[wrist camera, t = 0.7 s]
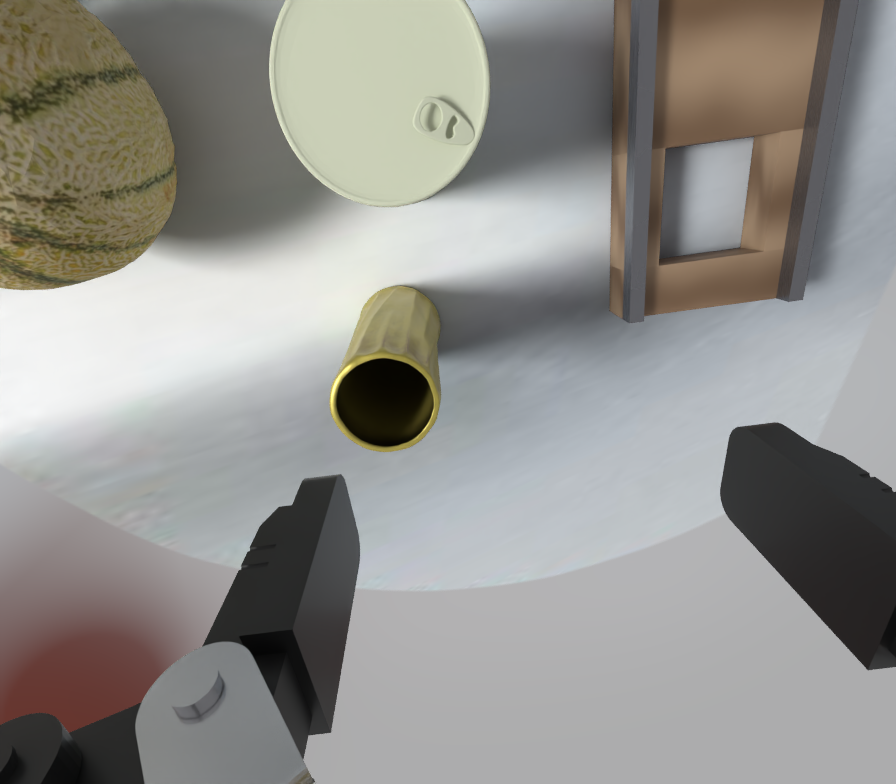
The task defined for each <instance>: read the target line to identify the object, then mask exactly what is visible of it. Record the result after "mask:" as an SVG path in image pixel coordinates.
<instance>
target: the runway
mask: <svg viewBox="0 0 896 784" xmlns="http://www.w3.org/2000/svg"><path fill="white" fill-rule="evenodd" d="M858 1H859V0H614V57H613V121H612V184H611V247H610V310H609V311H611V312H612V313H614V314H615V315H617V316H619V317H620V318H622V319H623V320H625V321H627V322H628V323H635V322H642V321H644V316H648V315H655V314H663V313H670V312H677V311H685V310H692V309H699V308H707V307H714V306H722V305H729V304H736V303H744V302H751V301H759V300H766V299H773V298H777V299H781V300H784V301H788V302H790V301H797V300H803V296H804V291H805V286H806V280H807V275H808V270H809V264H810V259H811V253H812V248H813V243H814V237H815V232H816V227H817V221H818V216H819V210H820V205H821V200H822V194H823V189H824V184H825V178H826V173H827V168H828V162H829V157H830V151H831V146H832V141H833V135H834V130H835V125H836V119H837V114H838V109H839V103H840V98H841V92H842V87H843V82H844V76H845V71H846V66H847V60H848V55H849V50H850V44H851V39H852V33H853V28H854V23H855V17H856V12H857V7H858ZM748 137H754V142H753V150H752V158H751V166H750V174H749V182H748V190H747V198H746V206H745V214H744V222H743V230H742V238H741V246H740V248H735V249H728V250H721V251H713V252H706V253H699V254H691V255H684V256H677V257H669V258H662V259H659V252H660V235H661V217H662V200H663V182H664V165H665V149H669V148H676V147H683V146H690V145H698V144H705V143H712V142H719V141H727V140H734V139H741V138H748Z"/></svg>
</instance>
